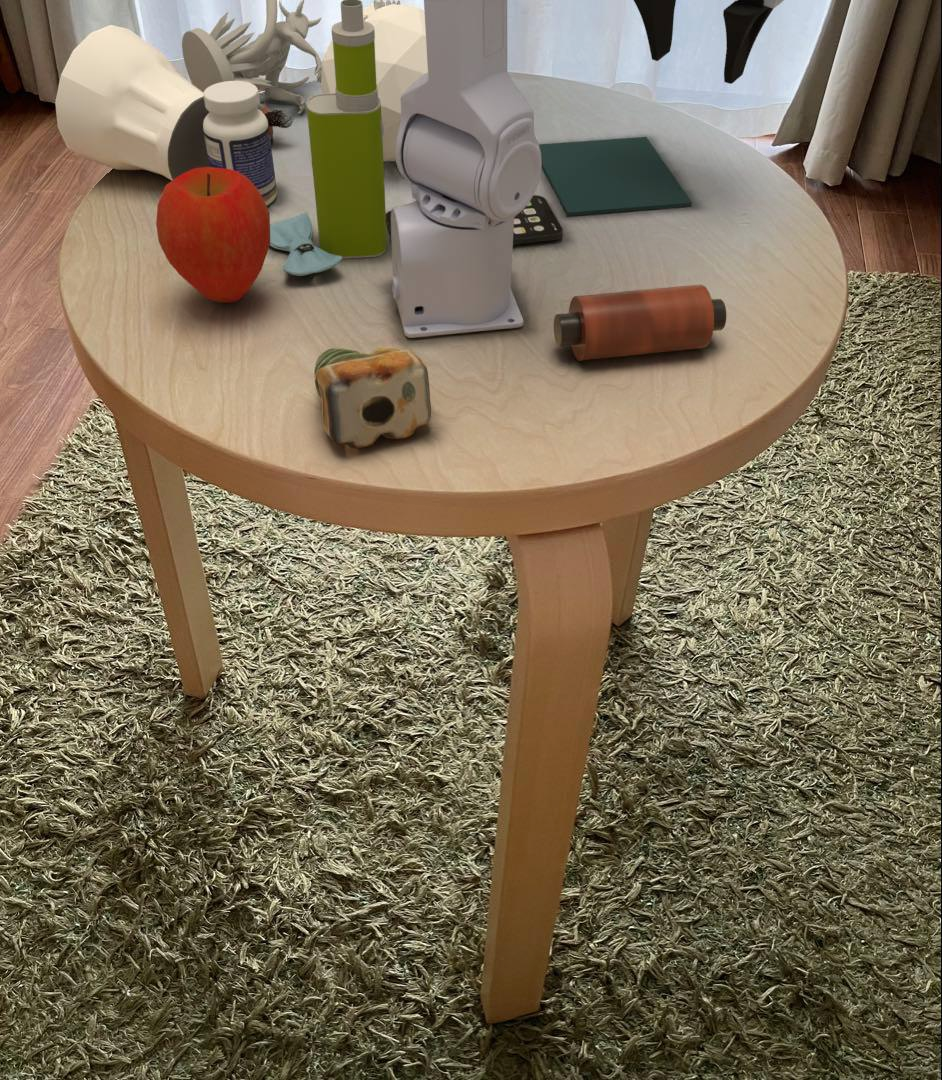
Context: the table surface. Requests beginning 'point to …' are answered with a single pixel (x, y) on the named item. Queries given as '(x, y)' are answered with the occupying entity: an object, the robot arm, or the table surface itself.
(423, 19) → the geodesic sphere
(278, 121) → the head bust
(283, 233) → the bow tie
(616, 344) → the rolling pin
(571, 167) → the pastry mat
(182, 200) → the apple
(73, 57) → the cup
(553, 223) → the smartphone
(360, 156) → the vape
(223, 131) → the pill bottle
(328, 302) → the table surface
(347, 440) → the ornament
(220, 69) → the demon figurine
